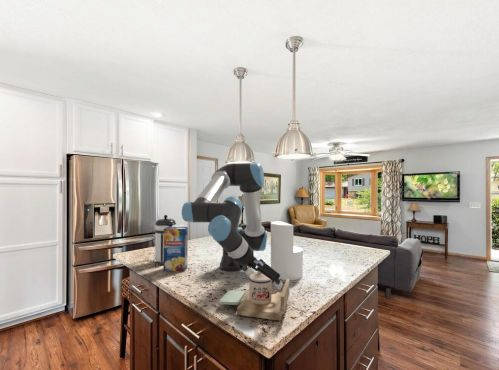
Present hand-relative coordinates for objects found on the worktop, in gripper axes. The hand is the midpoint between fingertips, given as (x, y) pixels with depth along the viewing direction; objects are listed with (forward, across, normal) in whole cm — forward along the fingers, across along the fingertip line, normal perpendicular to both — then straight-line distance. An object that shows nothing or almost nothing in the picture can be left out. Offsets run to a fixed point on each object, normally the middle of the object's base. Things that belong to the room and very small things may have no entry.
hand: (267, 282), depth 99 cm
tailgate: (0, -7, -9) cm, 11 cm away
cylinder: (+32, -17, +18) cm, 41 cm away
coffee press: (+6, -86, -8) cm, 87 cm away
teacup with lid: (+3, 0, -6) cm, 7 cm away
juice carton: (+4, -67, -9) cm, 68 cm away
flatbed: (+5, 0, -8) cm, 10 cm away
